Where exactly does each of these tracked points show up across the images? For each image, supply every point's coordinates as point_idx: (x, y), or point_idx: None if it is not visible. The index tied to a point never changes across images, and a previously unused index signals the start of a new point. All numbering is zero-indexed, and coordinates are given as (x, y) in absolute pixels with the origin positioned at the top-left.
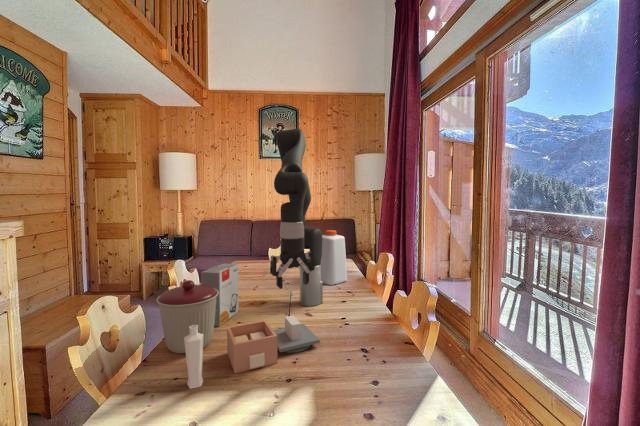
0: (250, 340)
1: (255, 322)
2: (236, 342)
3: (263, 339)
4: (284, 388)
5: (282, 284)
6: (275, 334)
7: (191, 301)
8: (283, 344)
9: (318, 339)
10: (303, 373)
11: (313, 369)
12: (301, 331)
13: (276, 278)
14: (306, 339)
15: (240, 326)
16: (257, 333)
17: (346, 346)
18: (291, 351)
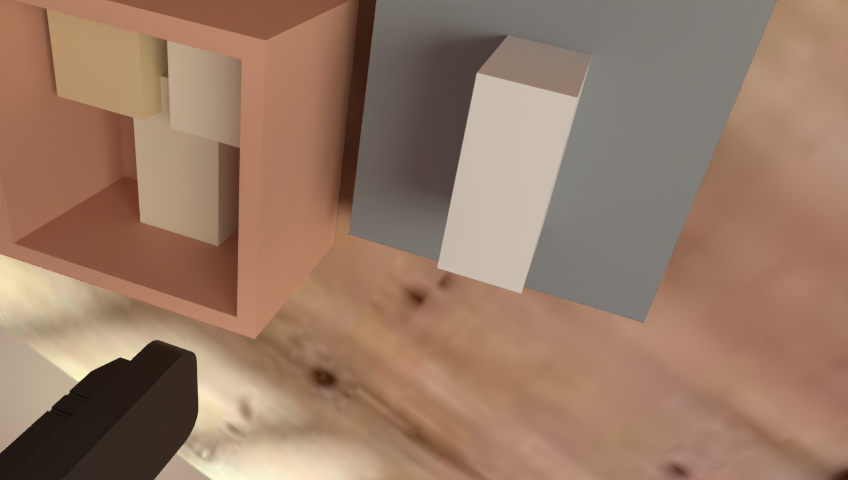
0: (90, 274)
1: (168, 29)
2: (66, 93)
3: (170, 305)
4: (286, 401)
5: (154, 477)
6: (250, 319)
7: None
8: (394, 204)
9: (639, 314)
10: (402, 390)
11: (460, 401)
12: (631, 127)
13: (4, 455)
14: (568, 258)
15: (47, 8)
16: (219, 63)
17: (804, 394)
18: None
